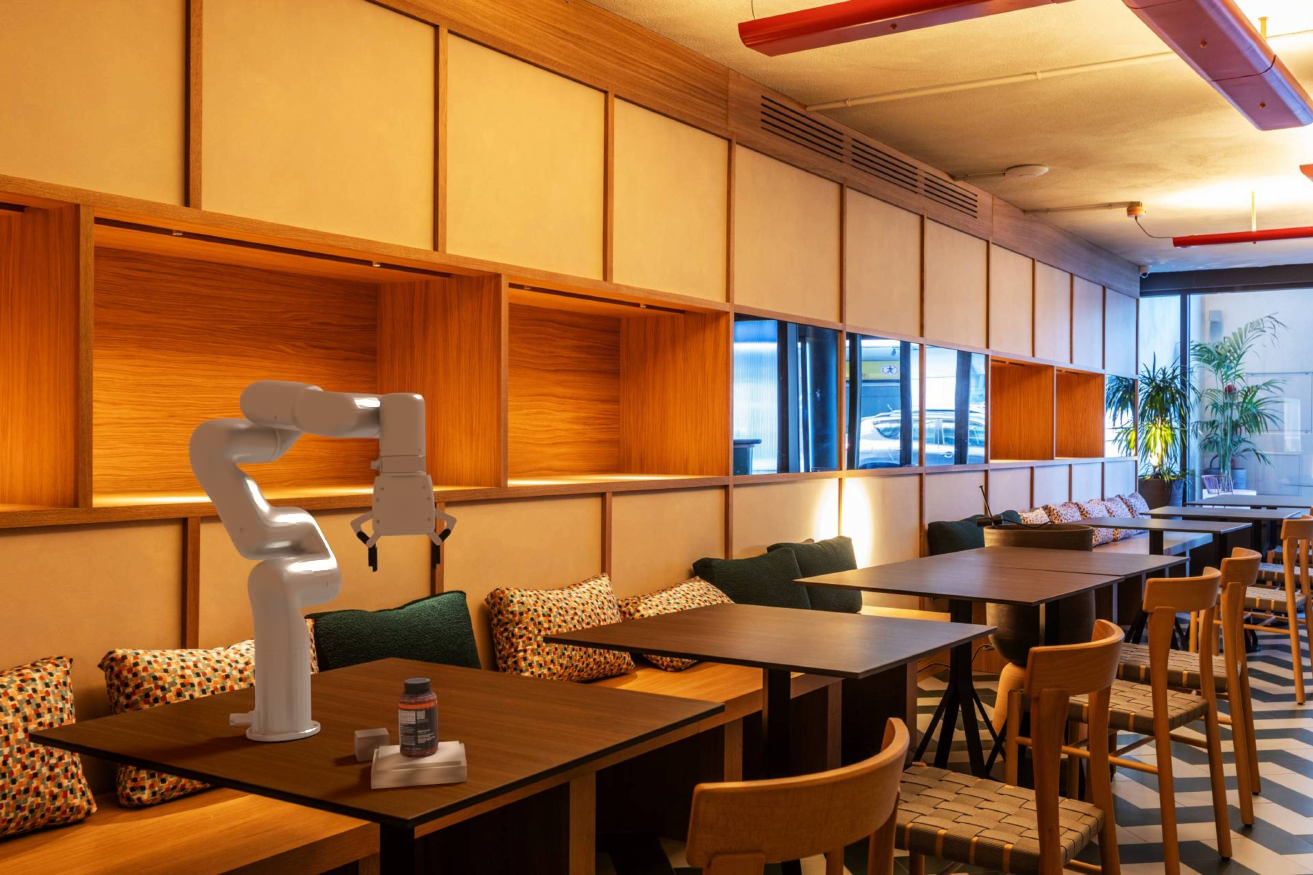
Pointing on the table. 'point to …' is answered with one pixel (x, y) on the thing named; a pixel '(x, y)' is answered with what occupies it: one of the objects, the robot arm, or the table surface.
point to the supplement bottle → (418, 719)
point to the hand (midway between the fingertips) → (404, 569)
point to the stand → (418, 766)
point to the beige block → (369, 742)
